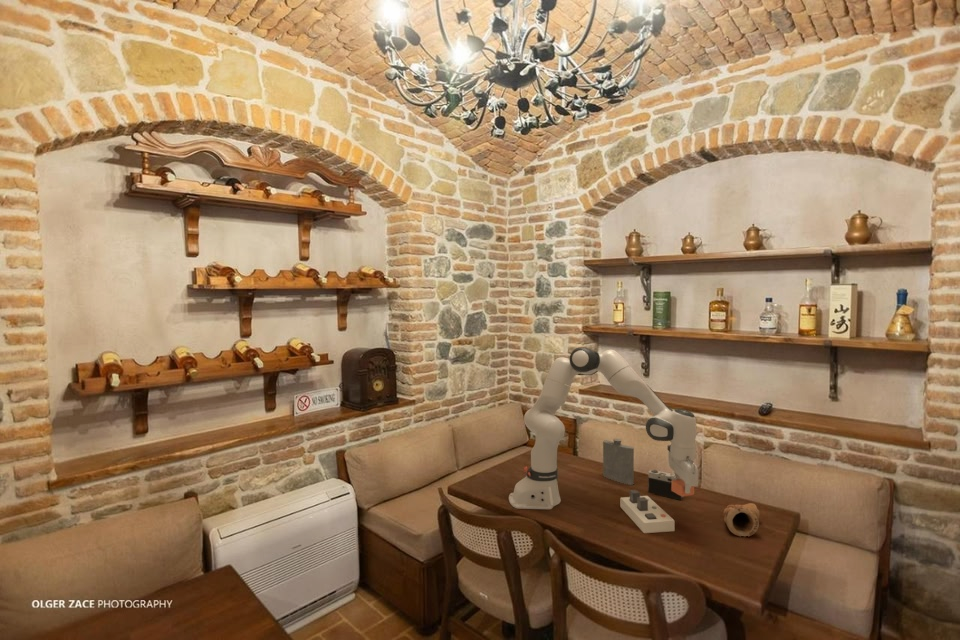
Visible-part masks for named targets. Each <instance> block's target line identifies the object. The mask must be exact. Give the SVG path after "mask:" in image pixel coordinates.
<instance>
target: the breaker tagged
mask: <svg viewBox="0 0 960 640" xmlns="http://www.w3.org/2000/svg"><path fill="white" fill-rule="evenodd" d="M645 517H646V518H647V519H648V520H650V519H656V516H655V515H654V514H653V513H648V514H645Z"/></svg>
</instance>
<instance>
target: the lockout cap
mask: <svg viewBox="0 0 960 640" xmlns="http://www.w3.org/2000/svg"><path fill="white" fill-rule="evenodd" d="M684 487H685V482H684V481H683V480H682V479H678V480H672V485H671V491H673V492H675V493H676V494H678V495H680V496H682V497H683V498H684V497H688V496H693V495H695V486H691V489H690V493H685V492H684Z"/></svg>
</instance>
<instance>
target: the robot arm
mask: <svg viewBox="0 0 960 640" xmlns="http://www.w3.org/2000/svg"><path fill="white" fill-rule="evenodd" d="M598 372H600V373H601V374H602V375H603V376H604V377H605V379H606V380H607V382H608V383H609V385H610V386H611V387H612V388H613V389H614V390H615V391H616V392H617V393H618V394H621V395H625V396H631V397H634V398H637V399H638V400H640V401H641V402H642V403H643V404H644V405H645V407H647V409H648V410H649V411H650V412H651V413H652V414H653V416H652V417H650V418H649V419H648V420H647V421H646V423H645V431H646V433H647V435H648V436H649V437H650V438H651V439H652V440H654V441H657V442H658V441H659V442H670V444H667V448H666V449H667V451H668V454H667V455H668V456H667V457H668V458H667V459H668V466H669V468H670V469H672V471H673V474H675V478H676V480H678V479H682V480H683V481H684V482H685V487H684V492H685V493H690V489H691V486H694V487H698V485H699V470H698V466H697V464H696V463H695V461H696V459H697V443H696V438H697V430H698V429H697V419H696V416H695V414H694V413H693V412H691V411H690V410H687V409H683V408H675V409H672V408H671V407H669V406H668V405H667V404H666V403H665V401H663V400H662V399H661V398H660V397H659V395H658V394H657V393H656V392H655V391H654V390H653V389H652V387H650V386H649V385H648V384H647V383H646V382H645V381H644V380H643V379H642V378H641V377H640V375H639V374H638V373H637V371H635V370H634V369H633V368H632V366H631V365H630V363H628V361H627V360H626V359H625V358H624V357H623V356H622V354H620V353H619V352H618V351H616V350H614V349H606V350H604V351H603V352H601V353H599V352H598V351H595V350H593V349H591V348H589V347H584V346H580V347H576V348H575V349H573V350H572V351H571V353H570V355H569V358H567V357H563V356H561V357H557V358H556V359H554V361H553V362H552V364H551V366H550V368H549V371H548V373H547V375H546V378H545V381H544V383H543V386H542V388H541V392H540V394H539V396H538V397H537V399H536V400H535V402H534V404H533V405H532V407H531V408H529V409H528V410H527V411H525V414H524V415H523V422H524V424H525V426H526V427H527V430H529V431H530V432H531V433H533V434H534V435H535V441H534V446H533V447H532V448H531V451H530V467H528V466H524V467H523V470H524V472H525V473H526V476H525V477H523V478H522V479H521V480H519V481H518V482H517V483H516V484H515V485H514V489H513V492H510V493H509V495H508V502H509V504H510V505H511V507H513V508H514V509H517V510H518V509H520V510H521V509H522V510H552V509H553V508H555V506H557V505H559V504H560V503H561V501H562V499H561V496H560V492H559V487H558V481H559V470H558V467H557V466H558V465H557V464H558V462H557V461H558V458H557V457H558V456H557V455H558V454H557V453H558V449H559V448H558V447H559V444H560V442H561V440H562V439H563V438H564V437H565V433H566V427H565V425H564V423H563V422H562V421H561V420H560V418H559V417H557V416H556V415H555V414H556V413H557V411H558V410H559V409H560V407H562V406H563V405H565V403H566V401H567V398H568V395H569V392H570V388H571V386H572V383H573V380H575V379H574V378H575V377H576V376H593V375H595V374H597V373H598Z"/></svg>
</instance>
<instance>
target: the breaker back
mask: <svg viewBox="0 0 960 640" xmlns="http://www.w3.org/2000/svg"><path fill="white" fill-rule="evenodd" d="M640 496H641V493H640V492H639V491H638V490H637V489H629V497H630V501H631V502H632V503H637V498H638V497H640Z"/></svg>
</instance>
